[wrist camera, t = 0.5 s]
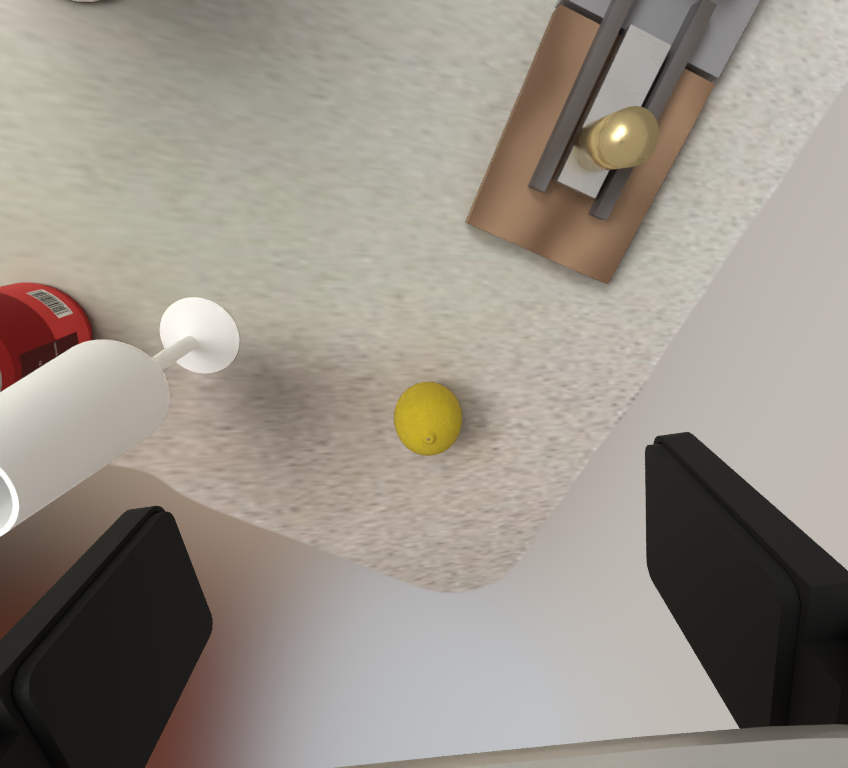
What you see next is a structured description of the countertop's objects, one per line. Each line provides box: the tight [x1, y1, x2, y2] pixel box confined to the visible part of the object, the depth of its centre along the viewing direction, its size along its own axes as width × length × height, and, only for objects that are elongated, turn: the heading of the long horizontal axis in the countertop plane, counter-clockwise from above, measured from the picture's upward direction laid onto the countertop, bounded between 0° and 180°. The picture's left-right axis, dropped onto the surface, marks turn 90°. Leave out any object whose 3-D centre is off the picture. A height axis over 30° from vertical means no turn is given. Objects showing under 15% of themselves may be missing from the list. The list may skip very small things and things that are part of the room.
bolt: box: [553, 24, 671, 198], centre depth 32 cm, size 3×10×7 cm, turn 158°
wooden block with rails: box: [465, 0, 717, 284], centre depth 36 cm, size 12×18×4 cm, turn 158°
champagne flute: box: [0, 297, 240, 536], centre depth 32 cm, size 7×7×24 cm
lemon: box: [394, 382, 462, 456], centre depth 41 cm, size 6×6×8 cm
